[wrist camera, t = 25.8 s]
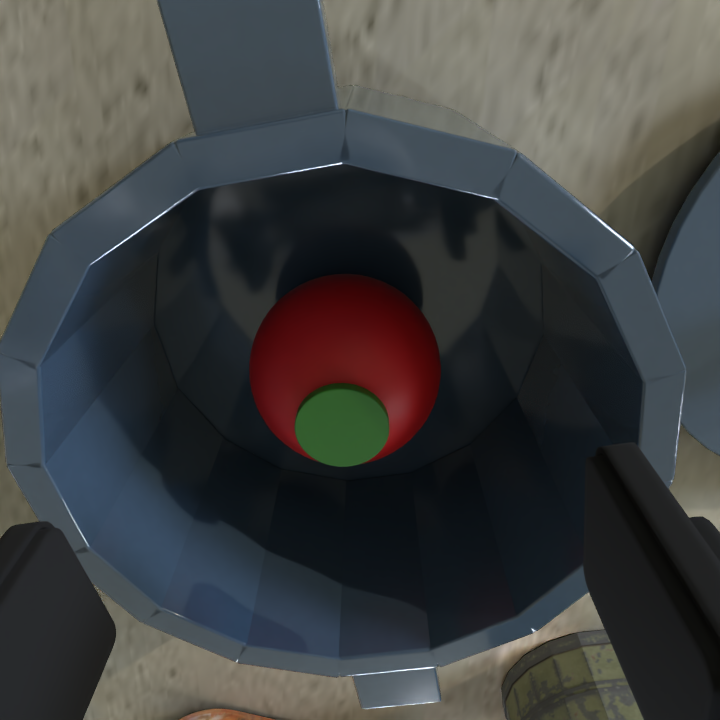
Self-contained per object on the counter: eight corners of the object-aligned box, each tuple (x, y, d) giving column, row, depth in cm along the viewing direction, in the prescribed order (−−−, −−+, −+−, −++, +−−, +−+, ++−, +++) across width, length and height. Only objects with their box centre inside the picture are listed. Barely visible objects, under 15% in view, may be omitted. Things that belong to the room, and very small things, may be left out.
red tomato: (346, 425, 20) (340, 545, 15) (230, 326, 18) (182, 426, 13) (464, 331, 18) (501, 433, 13) (349, 211, 16) (343, 278, 11)
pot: (227, 554, 23) (174, 751, 17) (20, 26, 14) (-267, 6, 8) (564, 514, 22) (648, 709, 16) (563, -87, 13) (758, -222, 7)
